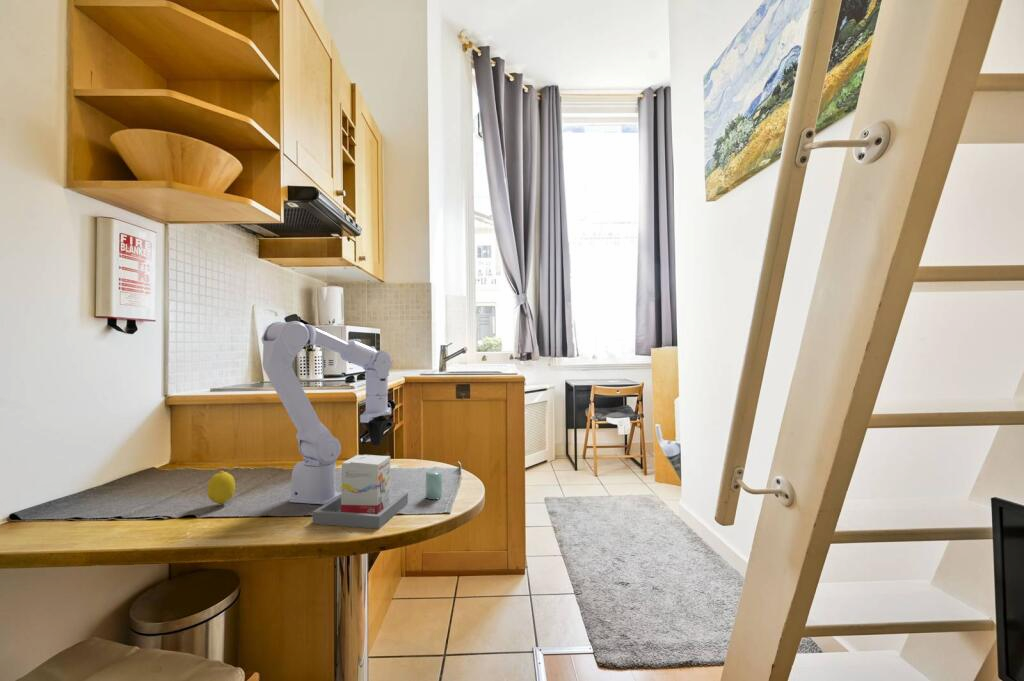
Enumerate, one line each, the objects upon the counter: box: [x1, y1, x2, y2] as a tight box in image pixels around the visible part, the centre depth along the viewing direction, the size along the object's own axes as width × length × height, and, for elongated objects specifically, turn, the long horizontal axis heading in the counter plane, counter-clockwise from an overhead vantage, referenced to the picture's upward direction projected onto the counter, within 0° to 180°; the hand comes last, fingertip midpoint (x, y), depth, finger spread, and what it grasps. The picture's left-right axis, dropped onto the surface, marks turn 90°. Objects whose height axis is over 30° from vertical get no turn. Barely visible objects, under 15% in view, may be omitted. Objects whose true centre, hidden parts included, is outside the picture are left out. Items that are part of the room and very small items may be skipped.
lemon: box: [206, 470, 236, 505], centre depth 108 cm, size 6×6×8 cm
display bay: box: [311, 492, 409, 530], centre depth 103 cm, size 15×15×2 cm
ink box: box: [340, 454, 391, 514], centre depth 105 cm, size 9×9×12 cm
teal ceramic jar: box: [424, 470, 444, 500], centre depth 114 cm, size 4×4×6 cm
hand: (376, 444), depth 125 cm, fingers closed
